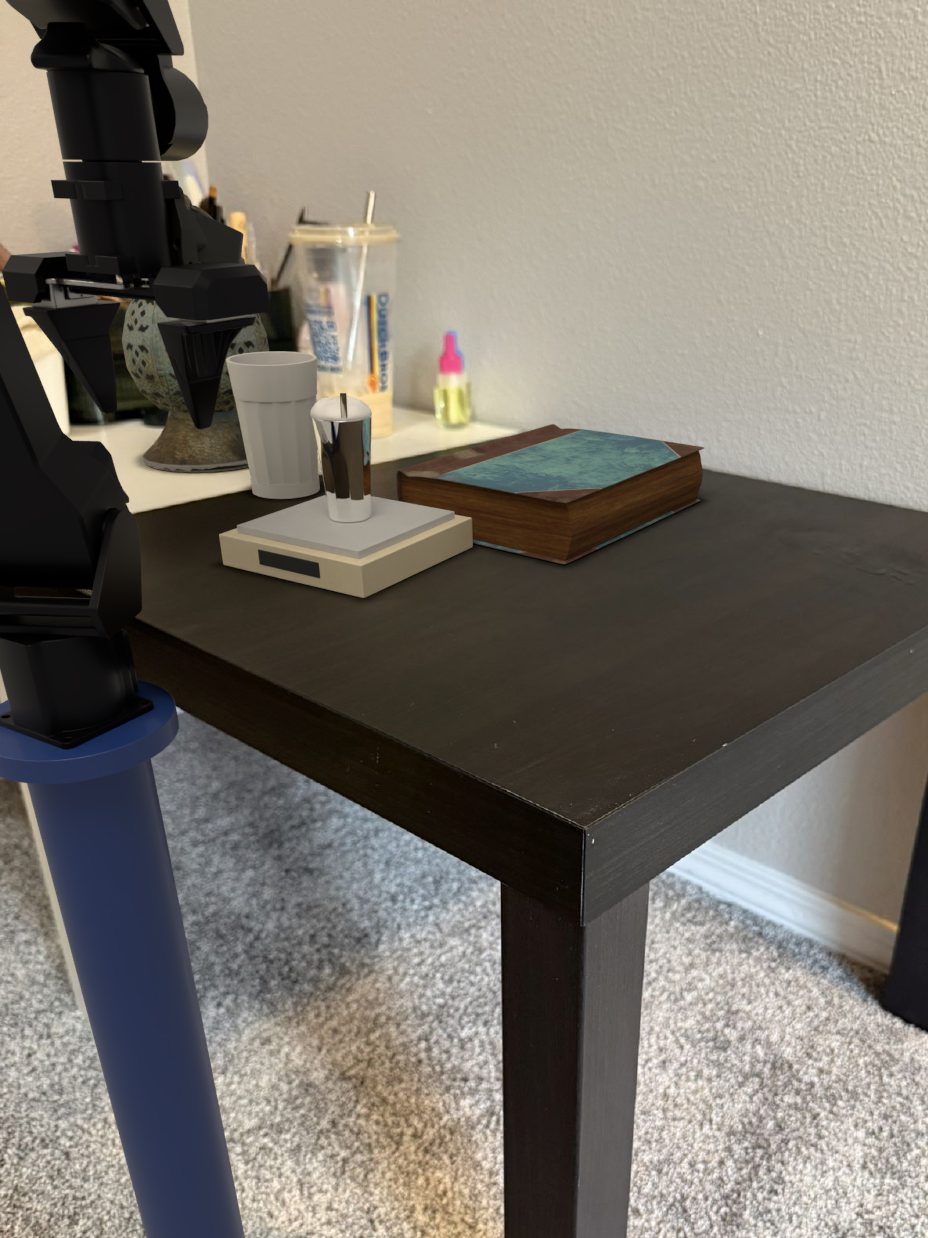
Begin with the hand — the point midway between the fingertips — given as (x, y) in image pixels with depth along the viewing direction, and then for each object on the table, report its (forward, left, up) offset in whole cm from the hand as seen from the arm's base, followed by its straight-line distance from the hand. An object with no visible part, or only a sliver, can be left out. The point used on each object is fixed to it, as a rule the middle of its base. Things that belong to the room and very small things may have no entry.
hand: (155, 420), depth 74 cm
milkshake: (+12, -6, -9) cm, 16 cm away
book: (+31, -14, -12) cm, 36 cm away
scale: (+12, -6, -12) cm, 18 cm away
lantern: (+30, +28, -12) cm, 43 cm away
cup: (+24, +12, -12) cm, 29 cm away
